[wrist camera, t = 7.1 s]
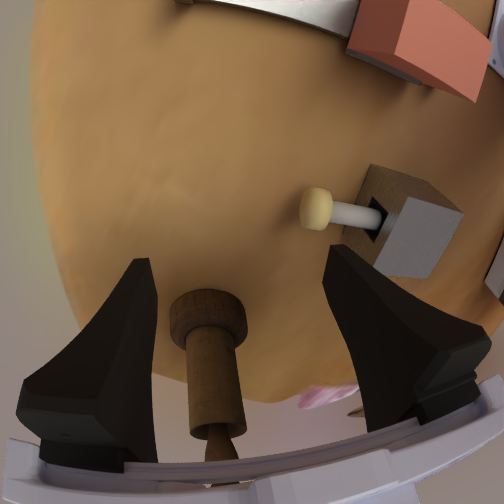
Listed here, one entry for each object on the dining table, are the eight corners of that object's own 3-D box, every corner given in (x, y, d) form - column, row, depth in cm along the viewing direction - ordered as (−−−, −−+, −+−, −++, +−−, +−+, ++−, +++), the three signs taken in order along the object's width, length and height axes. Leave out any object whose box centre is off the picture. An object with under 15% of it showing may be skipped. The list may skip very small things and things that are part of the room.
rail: (445, 50, 16) (473, 56, 13) (434, 86, 17) (461, 96, 15) (189, -43, 11) (187, -59, 9) (175, 3, 13) (170, -6, 10)
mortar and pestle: (167, 333, 28) (173, 527, 14) (174, 283, 25) (180, 524, 11) (235, 338, 30) (266, 522, 16) (253, 292, 27) (303, 512, 12)
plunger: (374, 194, 21) (392, 213, 19) (360, 225, 22) (376, 246, 20) (308, 179, 19) (322, 198, 17) (296, 214, 21) (307, 236, 19)
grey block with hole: (427, 181, 22) (464, 214, 18) (398, 241, 26) (426, 278, 22) (371, 163, 21) (408, 196, 17) (342, 232, 24) (368, 274, 20)
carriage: (428, 29, 15) (493, 40, 10) (412, 83, 17) (474, 107, 12) (355, -10, 13) (414, -20, 8) (337, 50, 16) (392, 59, 11)
